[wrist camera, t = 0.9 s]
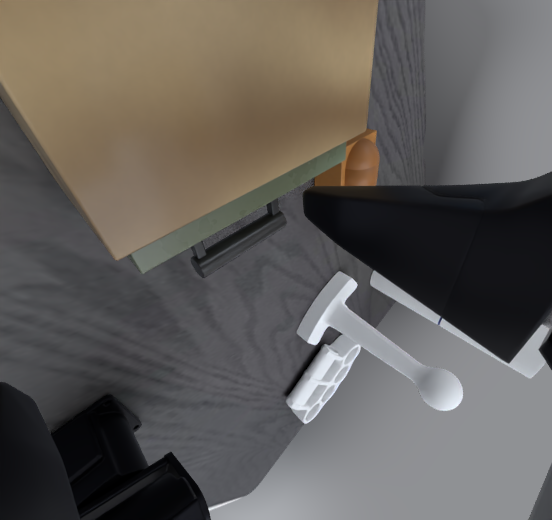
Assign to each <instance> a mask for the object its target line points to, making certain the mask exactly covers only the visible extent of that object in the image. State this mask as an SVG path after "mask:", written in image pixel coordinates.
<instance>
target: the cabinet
mask: <svg viewBox="0 0 552 520" xmlns="http://www.w3.org/2000/svg"><path fill="white" fill-rule="evenodd" d="M377 9H378V0H0V97H1V99H2V101H3V102H4V104H5V105H6V107H7V108H8V110H9V111H10V113H11V114H12V116H13V117H14V119H15V120H16V122H17V123H18V125H19V126H20V128H21V129H22V131H23V132H24V134H25V135H26V137H27V138H28V140H29V141H30V143H31V144H32V146H33V147H34V149H35V150H36V152H37V153H38V155H39V156H40V158H41V159H42V161H43V162H44V164H45V165H46V167H47V168H48V170H49V171H50V173H51V174H52V176H53V177H54V179H55V180H56V182H57V183H58V185H59V186H60V187H61V189H62V190H63V192H64V193H65V194H66V196H67V197H68V198H69V200H70V201H71V202H72V204H73V205H74V206H75V208H76V209H77V210H78V212H79V213H80V214H81V216H82V217H83V218H84V220H85V221H86V222H87V224H88V225H89V226H90V228H91V229H92V230H93V232H94V233H95V234H96V236H97V237H98V238H99V240H100V241H101V242H102V244H103V245H104V246H105V248H106V249H107V250H108V252H109V253H110V254H111V256H112V257H113V258H114V260H116V261H118V260H120V259H122V258H124V257H126V256H128V255H130V254H132V253H133V252H135V251H137V250H139V249H141V248H143V247H145V246H147V245H149V244H151V243H153V242H155V241H156V240H158V239H160V238H162V237H164V236H166V235H168V234H170V233H172V232H174V231H176V230H178V229H179V228H181V227H183V226H185V225H187V224H189V223H191V222H193V221H195V220H197V219H199V218H200V217H202V216H204V215H206V214H208V213H210V212H212V211H214V210H216V209H218V208H220V207H222V206H223V205H225V204H227V203H229V202H231V201H233V200H235V199H237V198H239V197H241V196H243V195H245V194H246V193H248V192H250V191H252V190H254V189H256V188H258V187H260V186H262V185H264V184H266V183H267V182H269V181H271V180H273V179H275V178H277V177H279V176H281V175H283V174H285V173H287V172H289V171H290V170H292V169H294V168H296V167H298V166H300V165H302V164H304V163H306V162H308V161H310V160H312V159H313V158H315V157H317V156H319V155H321V154H323V153H325V152H327V151H329V150H331V149H333V148H334V147H336V146H338V145H340V144H342V143H344V142H346V141H348V140H350V139H352V138H354V137H356V136H357V135H359V134H361V133H363V132H365V131H366V128H367V117H368V106H369V95H370V85H371V74H372V63H373V52H374V41H375V31H376V20H377Z"/></svg>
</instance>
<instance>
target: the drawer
mask: <svg viewBox="0 0 552 520" xmlns="http://www.w3.org/2000/svg"><path fill="white" fill-rule="evenodd" d="M345 159H346V142H344V143H342V144H340V145H338V146H336V147H334V148H333V149H331V150H329V151H327V152H325V153H323V154H321V155H319V156H317V157H315V158H313V159H312V160H310V161H308V162H306V163H304V164H302V165H300V166H298V167H296V168H294V169H292V170H290V171H289V172H287V173H285V174H283V175H281V176H279V177H277V178H275V179H273V180H271V181H269V182H267V183H266V184H264V185H262V186H260V187H258V188H256V189H254V190H252V191H250V192H248V193H246V194H245V195H243V196H241V197H239V198H237V199H235V200H233V201H231V202H229V203H227V204H225V205H223V206H222V207H220V208H218V209H216V210H214V211H212V212H210V213H208V214H206V215H204V216H202V217H200V218H199V219H197V220H195V221H193V222H191V223H189V224H187V225H185V226H183V227H181V228H179V229H178V230H176V231H174V232H172V233H170V234H168V235H166V236H164V237H162V238H160V239H158V240H156V241H155V242H153V243H151V244H149V245H147V246H145V247H143V248H141V249H139V250H137V251H135V252H133V253H132V254H130V255H128V256H127V257H128V258H129V259H130V260H131V262H132V263H133V264H134V265H135V267H136V268H137V269H138V270H139V271H140V273H141V274H144V273H146V272H148V271H149V270H151V269H153V268H155V267H156V266H158V265H160V264H162V263H163V262H165V261H167V260H169V259H171V258H172V257H174V256H176V255H178V254H179V253H181V252H183V251H185V250H187V249H188V248H190V247H191V249H192V251H193V254H194V256H193V257H192V258H191V263H192V265H193V267H194V269H195V270H196V272H197V273H198V274H199V275H200V276H201V277H202V278H205V277H207V276H208V275H210V274H212V273H213V272H215V271H216V270H218V269H219V268H221V267H223V266H224V265H226V264H227V263H229V262H230V261H232V260H234V259H235V258H237V257H238V256H240V255H242V254H243V253H245V252H246V251H248V250H249V249H251V248H253V247H254V246H256V245H257V244H259V243H261V242H262V241H264V240H265V239H267V238H268V237H270V236H272V235H273V234H275V233H276V232H278V231H280V230H281V229H283V228H284V227H285V226H286V218H285V216H284V215H283V213H282V212H281V211H280V210H279V207H278V198H279V197H280V196H282V195H284V194H286V193H288V192H289V191H291V190H293V189H295V188H296V187H298V186H300V185H302V184H303V183H305V182H307V181H309V180H311V179H312V178H314V177H316V176H318V175H319V174H321V173H323V172H325V171H326V170H328V169H330V168H332V167H334V166H335V165H337V164H339V163H341V162H342V161H344V160H345ZM266 204H267V211H268V213H267V214H265V215H264V216H262V217H260V218H258V219H257V220H255V221H253V222H252V223H250V224H248V225H246V226H245V227H243V228H241V229H239V230H238V231H236V232H234V233H233V234H231V235H229V236H227V237H226V238H224V239H222V240H221V241H219V242H217V243H215V244H214V245H212V246H210V247H209V248H207V249H204V246H203V243H202V240H204V239H206V238H208V237H210V236H211V235H213V234H215V233H217V232H218V231H220V230H222V229H224V228H225V227H227V226H229V225H231V224H233V223H234V222H236V221H238V220H240V219H241V218H243V217H245V216H247V215H249V214H250V213H252V212H254V211H256V210H257V209H259V208H261V207H263V206H264V205H266Z"/></svg>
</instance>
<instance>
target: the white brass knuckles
mask: <svg viewBox="0 0 552 520" xmlns="http://www.w3.org/2000/svg"><path fill="white" fill-rule="evenodd" d="M360 349H361V346H360V345H358V344H357V343H355V342H354V341H352V340H351V339H350V338H348V337H347V336H345V335H344V334H342V335H341V336H339V337H338V338H337V339H336V340H335V341H334V342H333V343H332V344H331V345H327V344H324V345H322V346H321V350H320V351H319V352H318V354H317V355H316V357H315V358H314V360H313V361H312V362H311V364H310V365H309V367H308V368H307V370H305V371H304V374H303V375H302V377H301V378H300V380H299V381H298V383H297V384H296V386H295V387H294V389H293V390H292V391H291V393H290V394H289V395H288V396H287V399H286V403H287V405H288V406H289V407H291V409H292V411H293V412H294V413H295V414H296V415H297V416H298V418H299V419H300V420H301V421H302V422H303V423H308V422H310V421H311V420H312V419H313V418H314V417H315V416H316V415H317V414H318V412H319V411H320V409H321V408H322V407H323V405H324V404H325V403H326V402H327V401H328V400H329V399H330V397H331V396H332V395H333V394H334V392H335V391H336V389H337V387H338V386H339V384H340V383H341V382H342V380H343V379H344V378H345V377H346V375H347V373H348V371H349V369H350V367H351V364H352V363H353V361H354V359H355V358H356V357H357V355H358V354H359V352H360Z"/></svg>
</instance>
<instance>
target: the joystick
mask: <svg viewBox="0 0 552 520" xmlns="http://www.w3.org/2000/svg"><path fill="white" fill-rule="evenodd" d="M356 288H357V283H356V282H355V281H354V280H353V279H352V278H351V277H349V276H347V275H346V274H344V273H342V272H341V271H339V272H337V273H336V274H335V275H334V277H333V278H332V279H331V280H330V281H329V282H328V283H327V285H326V286H325V287H324V288H323V290H322V291H321V292H320V293H319V295H318V296H317V298H316V299H315V300H314V302H313V303H312V305H311V306H310V308H309V310H308V311H307V313H306V315H305V316H304V318H303V320H302V322H301V324H300V326H299V328H298V330H297V334H298V335H299V336H300V337H302V338H303V339H304V340H305V341H306V342H308V343H310V344H313V345H317V344H318V343H319V341H320V339H321V337H322V335H323V333H324V331H325V330H326V328H327V327H329V326H331V327H332V328H335V329H336V330H338V331H339V332H341V333H342V334H344V335H345V336H347V337H348V338H350V339H351V340H352V341H354V342H355V343H357V344H358V345H360V346H361V347H363V348H365V349H366V350H367V351H369V352H370V353H372V354H373V355H375V356H376V357H378V358H379V359H381V360H382V361H384V362H385V363H387V364H388V365H390V366H391V367H393V368H394V369H396V370H397V371H399V372H400V373H402V374H403V375H405V376H406V377H408V378H409V379H410V380H412V381H413V382H414V384H415V385H416V386H417V388H418V390H419V394H420V396H421V397H422V399H423V400H424V401H425V402H426V403H427V404H428V405H429V406H431V407H432V408H435V409H437V410H442V411H447V410H452V409H454V408H456V407H457V406H458V405H459V404H460V402H461V401H462V397H463V389H462V385H461V383H460V381H459V380H458V379H457V377H456V376H455V375H454V374H452V373H451V372H450V371H448V370H445V369H443V368H432V367H427V366H424V365H423V364H421V363H419V362H418V361H417V360H415V359H414V358H413V357H412V356H410V355H409V354H408V353H406V352H405V351H403V350H402V349H401V348H400V347H398V346H397V345H396V344H394V343H393V342H392V341H390V340H389V339H388V338H386V337H385V336H384V335H382V334H381V333H380V332H379V331H377V330H376V329H375V328H373V327H372V326H371V325H369V324H368V323H367V322H365V321H364V320H363V319H361V318H360V317H359V316H357V315H356V314H355V313H353V312H352V311H351V310H349V309H348V307H347V306H346V305H345V301H346V299H347V298H348V297H349V296H350V294H351V293H352V292H353V291H354V290H355V289H356Z"/></svg>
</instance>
